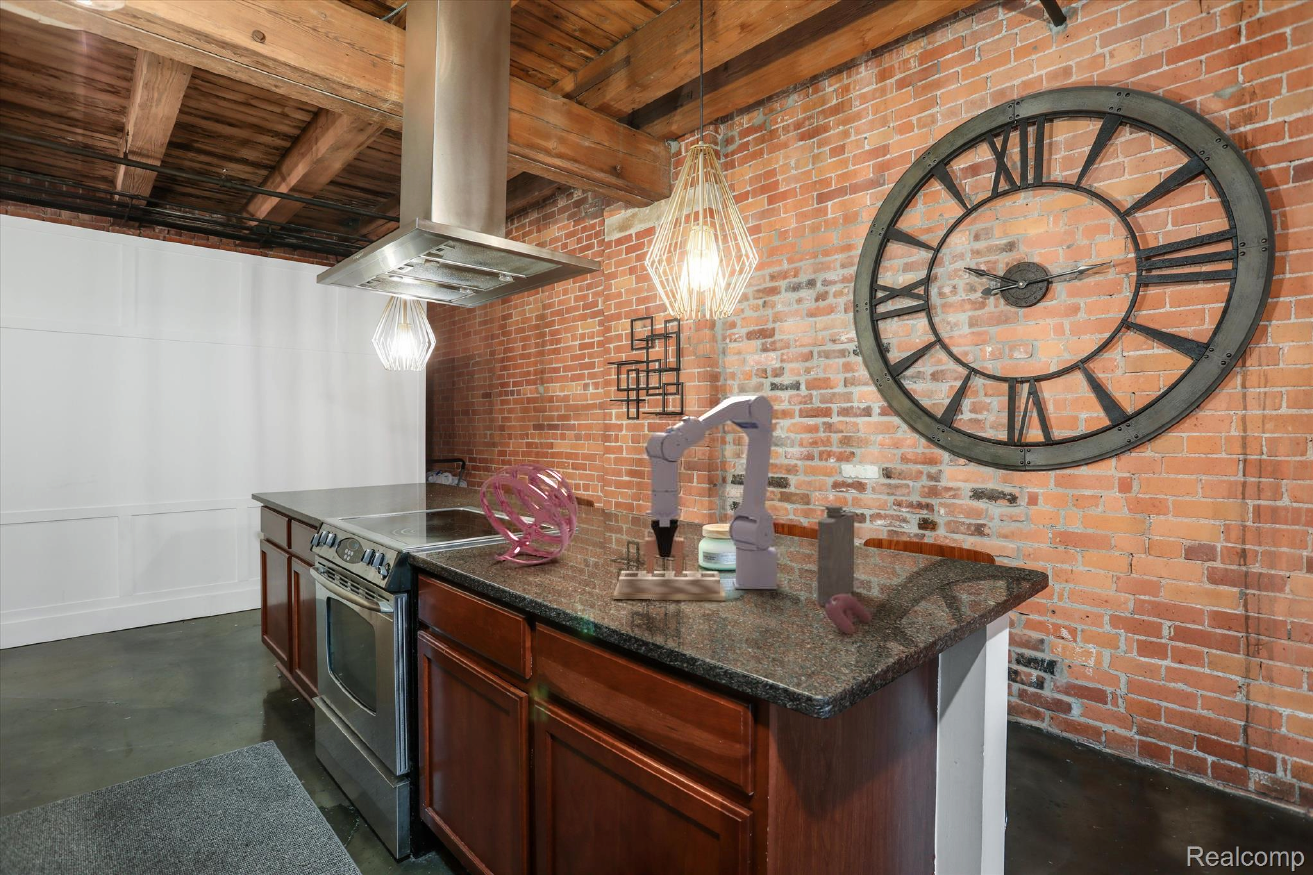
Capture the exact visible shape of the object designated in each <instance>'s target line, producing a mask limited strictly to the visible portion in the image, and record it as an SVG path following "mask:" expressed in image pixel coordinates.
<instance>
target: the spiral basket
mask: <svg viewBox="0 0 1313 875" xmlns="http://www.w3.org/2000/svg"><path fill="white" fill-rule="evenodd" d="M530 467H532V468H530ZM507 471H510V472H509V475H507V474H506V475H505V474H503V473H505V472H507ZM541 472H545V474H546V473H547V474H548V475H549V476H551V477H552V478H553V479H555V480H556V481H557V482H558V483H559V485H561V486H562V488H564V490H566V492H567V494H566V492H565V491H564V490H563V489H561V488H560V487H559V486H558V485H556V483H555V482H553V481H552V480H551V479H550V478H548V477H547V476H545V475H544V474H542V473H541ZM520 473H523V474H526V475H527V476H528V482H529V483H528V482H526V481H525V480H522V479H520V478H519V474H520ZM539 482H541V483H542V484H543V485H545V486H546V487H547V488H548V489H549V490H550V491H551V492H550V493H548V492H546V491H545V490H544V489H543V487H542V485H541V484H540V483H539ZM490 484H491V486H492V492H493V496H494V498H495V500H496V502H497V504H498V506H499V507H500V509H501V510H502V512H503V513H504V514H505V515H506V517H507V518H508V519H509V520H510V521H511V522H512V523H513V524H514V525H516V526H517V528H519V529H521V531H522V532H523V535H522V536H521V537H517V536H516V535H514V534H513V533H512V532H510V531H509V530H508V529H507V528H506V527H505V525H503V523H501V521H500V520H499V519H498V518H497V516H496V515H495V514H494V511H493V509H492V508H491V507H490V504H489V501H488V499H487V491H486V490H487V486H488V485H490ZM501 484H506V485H508V486H510V487H511V490H512V492H513V494H514V496H515V498H516V499H517V500H518V502H519V503H520V504H521V506H522V507H523V508H524V509H526V510H527V512H528V513H530V514H531V515H533V517H534V521H533V522H532V523H528V521H525V519H523V518H522V517H521V516H520V515H519V514H518V513H517V512H516V511H515V510H514V509H513V507H511V504H509V502H508V500H507V499H506V496H505V495H504V492H503V489H502V485H501ZM526 494H527V495H528V496H530V497H531V498H532V499H534V500H535V501H536V502H537V503H538V504H539V505H541V507H542V508H539V507H538V506H537V505H535V503H533V502H532V500H531V499H529V497H528V496H527V495H526ZM574 494H575V493H574V491H573V490H572V488H571V487H570V485H569V483H568V481H567V480H566V479H565V478H564V477H563V476H562V475H561V474H560V473H558V472H557V471H555V470H554V469H552V468H549V467H546V466H544V465H541V464H538V463H533V462H523V463H519V464H516V465H509V466H505V467H503V468H501V469H499V470H498V471H497V472H496V473H495V474H494V475H493V476H491V477H489V478H488V479H487V480H486V481H484V483H483V484H482V486H481V488H480V491H479V502H480V506H481V509H482V511H483V513H484V515H485V517H486V519H487V520H488V521H489V523H490V524H491V526H492V527H493V528H494V529H495V530H496V531H497V532H498V533H499V534H500V535H501V536H502V537H503V538H504V539H505V540H506V541H508V542H509V543H510V544H511V546H512V547H511V548H510V549H509V550H508V551H506V552H505V553H504V554H503V555H501V556H500V555H499V556H498V555H497V554H496V553H495V554H493V558H494V559H495V560H497V561H499V562H504V561H503V560H505V561H508V562H510V563H512V564H516V565H520V566H536V565H535V564H538V565H541V564H540V563H542V564H545V563H547V562H550V561H552V560H554V559H555V558H556V557H558V556H559V555H560V554H561V553H562V552H563V551H564V550H565V549H566V548H567V546H569V543H570V541H571V540H572V538H573V537H574V534H575V532H576V530H577V521H578V520H577V518H578V514H579V508H578V502H577V498H576V496H575V495H574ZM555 496H556V497H557V498H556V497H555ZM573 506H574V507H573ZM559 509H566V510H567V512H568V516H566V517H563V515H562V514H561V512H560V511H559ZM544 523H545V524H549V525H551V526H554V527H557V529H558V531H559V535H554V534H550V533H547V532H543V531H542V530H541V528H540V527H541V526H542V524H544ZM534 539H535V540H539V541H541V542H544V543H548V544H553V545H561V546H560V547H559V548H557V549H556V550H545V549H544V550H543V549H541V548H537V547H535V546H532V545H531V544H530V542H531V541H532V540H534ZM522 552H524V553H527V554H529V555H531V554H532V555H531V556H534V555H537V556H536V557H538V556H544V557H548V558H544V557H543V559H539V560H533V561H528V560H527V561H526V560H519V559H516V558H514V557H516V555H518V554H519V553H522ZM512 556H514V557H512ZM510 557H512V558H510Z"/></svg>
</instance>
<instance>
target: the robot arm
mask: <svg viewBox="0 0 1313 875" xmlns="http://www.w3.org/2000/svg"><path fill="white" fill-rule="evenodd" d="M773 417H774V406H773V404H772V403H771V401H770V400H769V399H768V397H766V395H763V394H760V395H753V396H751V395H750V396H746V395H745V396H738V395H737V396H735V395H734V396H731V397H729V398H727V399H724V400H723V401H722V402H721V403H720V404H718V405H717V406H715V407H714V408H712V409H711V410H709V411H708V412H706V413H704V414H703V415H701V416H700V417H699V418H698V417H695V416H684V417H683V418H681V421H680V422H679V423H677V424H675V425H674V426H668V427H666V428H665V431H664V432H656V433H653V434H652V435H651V436H649V439H648V441H647V442H646V445H645V446H644V450H645V454H646V456H647V457H648V459H649V466H650V478H651V479H650V497H651V499H650V503H651V504H650V506H651V508H650V509H651V510H646V511H645V516H651V517H652V518H655V519H651V522H650V523H651V524H650V527H651V529H652V531H653V534H654V536H655V538H656V540H657V546H658V552H659V555H658V556H659V558H670V557H671V556H672V555H671V550H672V544H673V539H674V538H675V535H676V532H677V530H678V528H679V524H678V523H679V518H677V517H679V516H680V510H679V460H681V459H682V458H683V456H684V454H685V452H686V451H687V450H689V449H691V448H692V447H694V446H696V445H698V444H699V443H701V442H703V441H704V440H705V438H706V434H707V432H709V431H711V430H713V429H715V428H717V427H718V426H721V425H722V424H725V423H726V422H730V423H731V424H733V425H734V426H735V427H736V428H738V429H739V430H741V431H742V432H743V433H744V434H745V435H746V437H747V439H748V440H747V450H746V457H745V458H746V459H745V460H746V461H745V469H744V479H743V489H742V496H741V498H742V499H741V504H740V505H739V506H738V507H736V508H735V510H734V511H733V513H732V514H733V515H732V519H731V521H730V523H729V525H728V526H729V527H728V535H729V538H730V540H731V541H733V546H735V577H733V578H732V582H733V585H734V588H735V589H738V590H777V589H778V556H777V549H776V548H775V547H770V546H771V545H772V543H773V542H774V539H775V533H776V532H775V528H774V515H773V514H772V513H771V512H770V510H768V508H767V507H766V503H767V502H766V501H767V491H768V482H769V475H770V474H769V473H770V464H771V463H770V462H771V455H772V454H771V453H772V444H773V433H774V430H773Z"/></svg>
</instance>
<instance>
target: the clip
mask: <svg viewBox="0 0 1313 875" xmlns="http://www.w3.org/2000/svg"><path fill="white" fill-rule="evenodd" d="M684 542H685V541H684V537H674V539H673V544H672V550H671V555H670V556H674V571H675V574H683V571H684V561H683V559H684V558H683V557H684V554H685V550H684V549H685V548H684V547H685V543H684ZM644 545H645V546H644V555H645V564H646V565H645V571H646V574H654V571H655V555H656V556H659V552H658V546H657V540H656V537H645V539H644Z"/></svg>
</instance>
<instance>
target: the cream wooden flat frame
mask: <svg viewBox="0 0 1313 875" xmlns="http://www.w3.org/2000/svg"><path fill="white" fill-rule="evenodd" d="M613 592H614V593H613V600H614V599H650V600H649V601H726V593H725V589H724V586H723V583H722V582H721V578H720V574H719V571H715V570H714V571H708V570H706V571H699V570H698V571H697V570H695V571H693V570H691V571H687V570H686V571H684V570H683V574H675V570H673V571H672V570H665V571H664V570H661V571H660V570H654V574H646V570H621V572H620V575H619V578H618V581H617V585H616V587H615V590H614V591H613ZM651 599H652V600H651Z"/></svg>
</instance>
